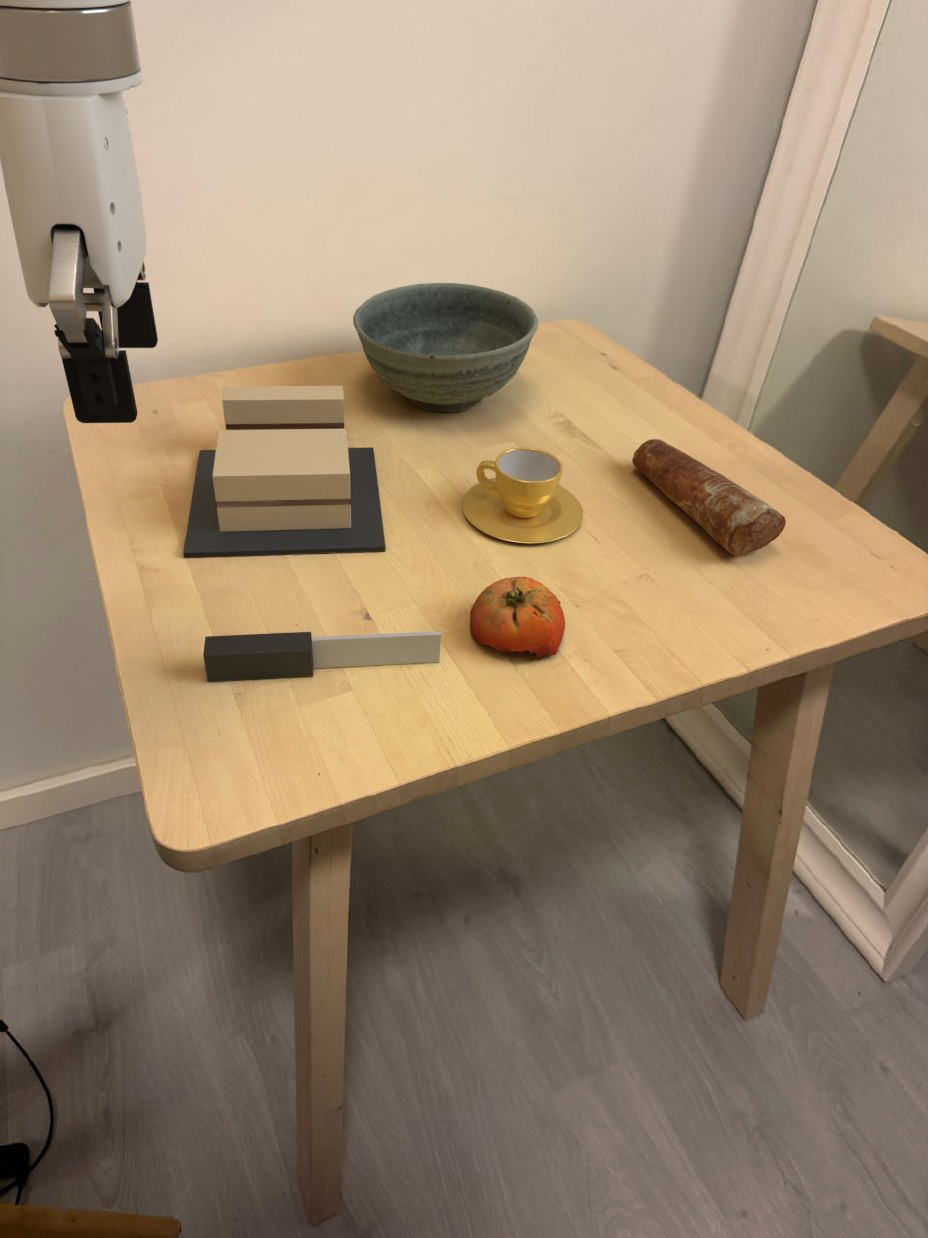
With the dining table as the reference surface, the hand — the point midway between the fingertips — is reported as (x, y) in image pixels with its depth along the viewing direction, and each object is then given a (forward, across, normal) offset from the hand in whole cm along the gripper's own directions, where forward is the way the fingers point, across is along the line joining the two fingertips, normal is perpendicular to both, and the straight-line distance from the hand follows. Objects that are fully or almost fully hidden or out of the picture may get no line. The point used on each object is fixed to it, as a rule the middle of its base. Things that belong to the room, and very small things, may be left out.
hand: (121, 380), depth 54 cm
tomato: (+24, -3, +27) cm, 37 cm away
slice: (+24, -34, +8) cm, 42 cm away
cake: (+24, -24, +8) cm, 35 cm away
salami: (+24, -20, +48) cm, 58 cm away
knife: (+24, 0, +11) cm, 27 cm away
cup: (+24, -21, +31) cm, 45 cm away
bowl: (+24, -46, +26) cm, 58 cm away
